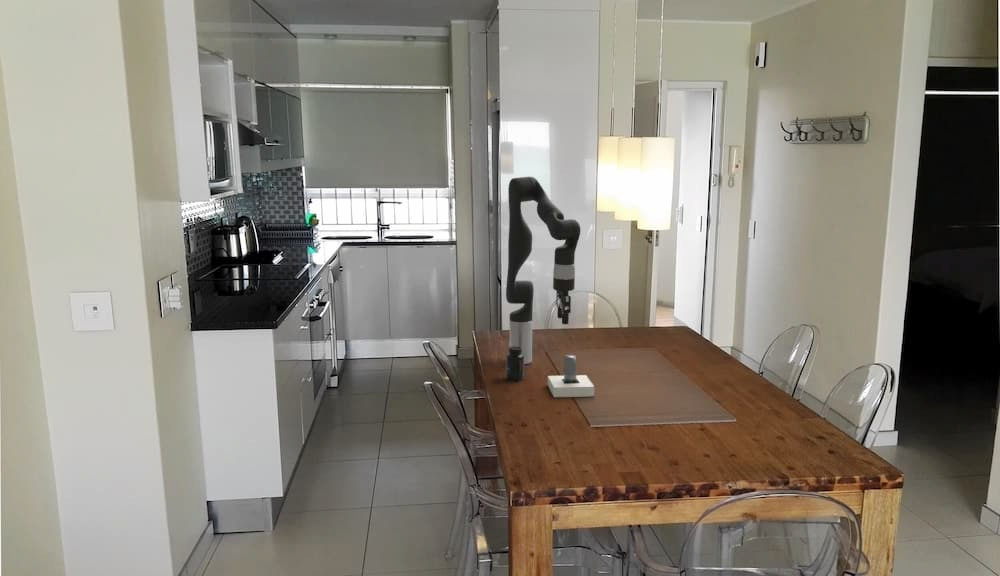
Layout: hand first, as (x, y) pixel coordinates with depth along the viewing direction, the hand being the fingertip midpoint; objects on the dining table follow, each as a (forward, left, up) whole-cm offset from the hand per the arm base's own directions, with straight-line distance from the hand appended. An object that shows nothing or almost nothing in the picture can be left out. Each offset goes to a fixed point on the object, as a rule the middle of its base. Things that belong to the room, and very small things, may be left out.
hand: (562, 321), depth 259 cm
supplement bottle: (-10, -16, -24) cm, 31 cm away
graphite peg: (+5, +2, -24) cm, 24 cm away
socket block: (+6, +2, -24) cm, 25 cm away
